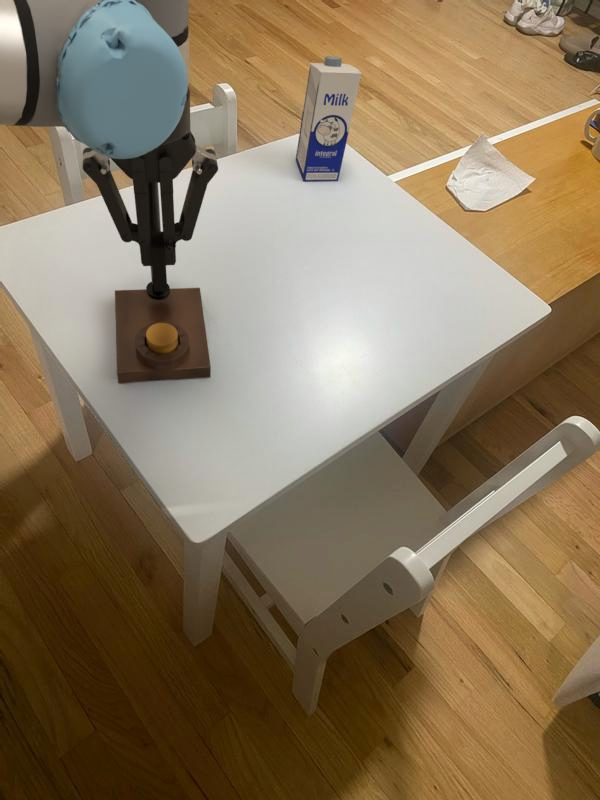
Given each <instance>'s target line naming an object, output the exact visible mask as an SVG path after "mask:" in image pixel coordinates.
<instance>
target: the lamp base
mask: <svg viewBox="0 0 600 800" xmlns="http://www.w3.org/2000/svg"><path fill="white" fill-rule="evenodd" d="M114 303H115V304H114V307H115V308H114V310H115V311H114V312H115V313H114V314H115V347H116V350H115V351H116V352H115V353H116V375H117V381H118V384H126V383H139V382H141V383H144V382H156V381H174V380H186V379H187V380H191V379H202V378H203V379H204V378H205V379H206V378H211V370H212V369H211V368H212V366H211V359H210V352H209V351H210V350H209V345H208V338H207V337H208V336H207V330H206V322H205V314H204V309H203V308H204V307H203V300H202V294H201V287H182V288H181V287H179V288H177V287H176V288H175V287H174V288H170V294H169V296H168V297H167V298H165V299H163V300H154V299H152V298H150V297H149V296H148V295H147V291H146V289H145V288H143V289H117V290H116V289H115V290H114ZM157 323H167V324H170V325H172V326H173V327H175V329H176V330H177V333H178V345H177V348H176V349H175V350H174V351H173V352H171V353H168V354H156V353H154V352H152V351H151V350H150V349H149V348H148V346H147V339H146V332H147V330H148V328H149V327H150V326H152V325H154V324H157Z"/></svg>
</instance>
